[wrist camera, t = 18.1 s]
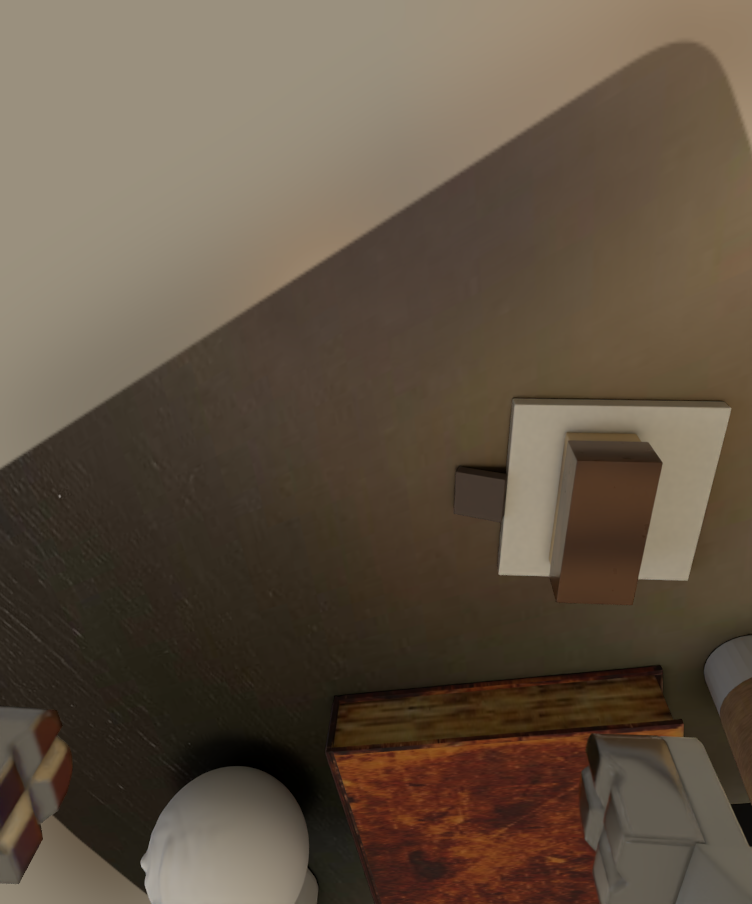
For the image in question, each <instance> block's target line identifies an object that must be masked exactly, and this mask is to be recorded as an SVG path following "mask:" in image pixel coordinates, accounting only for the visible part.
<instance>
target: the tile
mask: <svg viewBox="0 0 752 904" xmlns="http://www.w3.org/2000/svg"><path fill="white" fill-rule="evenodd" d="M730 412H731V407H730V406H729V405H728V404H727V403H726V402H718V401H652V400H587V399H522V398H513V399H512V410H511V421H510V432H509V443H508V454H507V465H506V474H507V475H508V476H507V486H506V497H505V508H504V517H503V519H502V522H501V530H500V541H499V552H498V563H497V567H498V573H499V575H522V576H549V574H550V566H551V565H550V562H549V553H550V546H551V539H552V531H553V524H554V516H555V509H556V502H557V494H558V487H559V479H560V472H561V465H562V457H563V450H564V443H565V435H566V433H567V432H575V433H627V434H637V436H638V437H639V439H640V440H641V442H649V444H650V445H651V446H652V448H653V449H654V451H655V452H656V454H657V455H658V456H659V458H660V459H661V461H662V462H663V465H662V469H661V474H660V479H659V483H658V488H657V493H656V497H655V502H654V507H653V511H652V516H651V521H650V525H649V530H648V535H647V540H646V544H645V549H644V554H643V558H642V563H641V568H640V572H639V577H638V579H652V580H684V581H687V580H688V577H689V573H690V569H691V566H692V562H693V558H694V554H695V550H696V546H697V542H698V538H699V534H700V530H701V526H702V522H703V518H704V515H705V511H706V507H707V503H708V499H709V495H710V491H711V487H712V483H713V479H714V475H715V471H716V467H717V463H718V460H719V456H720V452H721V448H722V444H723V440H724V436H725V432H726V428H727V424H728V420H729V416H730Z"/></svg>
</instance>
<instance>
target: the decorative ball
mask: <svg viewBox="0 0 752 904" xmlns="http://www.w3.org/2000/svg"><path fill="white" fill-rule="evenodd" d="M308 859H309V839H308V831H307V826H306V822H305V819H304V816H303V813H302V811H301V809H300V807H299V805H298V803H297V801H296V799H295V798H294V796H293V795H292V794H291V792H290V791H289V790H288V789H287V788H286V787H285V786H284V785H283V784H282V783H281V782H280V781H279V780H277V779H276V778H275V777H273V776H271V775H270V774H268V773H266V772H264V771H261V770H258V769H255V768H251V767H245V766H229V767H222V768H218V769H215V770H212V771H209V772H207V773H204V774H202V775H200V776H199V777H197V778H195V779H194V780H192V781H191V782H189V783H188V784H187V785H185V786H184V787H183V788H182V789H181V790H180V791H179V792H178V793H177V794H176V795H175V796H174V797H173V798H172V799H171V801H170V802H169V803H168V805H167V806H166V807H165V809H164V810H163V811H162V813H161V815H160V816H159V819H158V821H157V823H156V825H155V828H154V830H153V831H152V834H151V839H150V842H149V847H148V850H147V852H146V853H145V855H144V856H143V857H142V859H141V866H142V868H143V869H144V870H145V872H146V878H145V888H146V890H147V893H148V897H149V900H150V902H151V904H294V903H295V901H296V900H297V898H298V895H299V893H300V891H301V888H302V886H303V883H304V880H305V876H306V872H307V866H308Z"/></svg>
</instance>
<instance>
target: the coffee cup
mask: <svg viewBox="0 0 752 904" xmlns="http://www.w3.org/2000/svg"><path fill="white" fill-rule="evenodd" d="M704 677H705V681H706V683H707V686H708V688H709V691H710V693H711V696H712V698H713V701H714V703H715V706H716V708H717V711H718V713H719V716H720V720H721V723H722V726H723V728H724V731H725V734H726V736H727V739H728V742H729V745H730V747H731V750H732V753H733V756H734V758H735V761H736V764H737V766H738V769H739V772H740V775H741V777H742V780H743V783H744V785H745V788H746V791H747V794H748V796H749V799H750V802H751V804H752V635H748V636H743V637H738V638H735V639H732V640H730V641H728V642H726V643H724V644H722V645H721V646H720V647H718V648H717V649H716V650H715V651H714V652H713V653H712V654H711V655H710V656H709V658H708V659H707V661H706V664H705V667H704Z"/></svg>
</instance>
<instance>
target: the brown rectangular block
mask: <svg viewBox="0 0 752 904" xmlns="http://www.w3.org/2000/svg"><path fill="white" fill-rule="evenodd" d="M662 465H663V462H662V461H661V459H660V458H659V456H658V455H657V454H656V452H655V451H654V449H653V448H652V446H651V445H650V444H649V442H641V440H640V439H639V437H638V436H637V434H627V433H575V432H567V433H566V435H565V443H564V450H563V457H562V465H561V472H560V479H559V487H558V494H557V502H556V509H555V516H554V524H553V531H552V539H551V546H550V553H549V562H550V565H551V566H550V574H549V578H550V581H551V585H552V588H553V592H554V596H555V599H556V602H557V603H585V604H615V605H633V600H634V596H635V591H636V586H637V582H638V577H639V572H640V568H641V563H642V558H643V554H644V549H645V544H646V540H647V535H648V530H649V525H650V521H651V516H652V511H653V507H654V502H655V497H656V493H657V488H658V483H659V479H660V474H661V469H662Z"/></svg>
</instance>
